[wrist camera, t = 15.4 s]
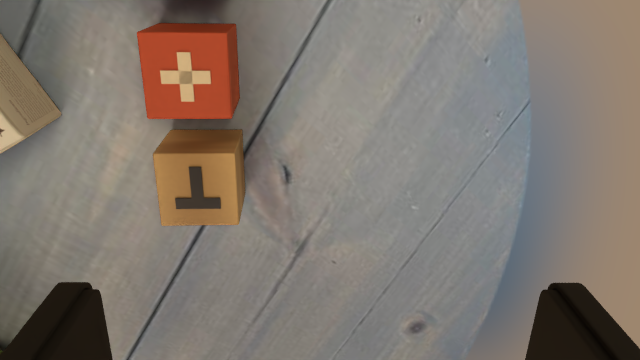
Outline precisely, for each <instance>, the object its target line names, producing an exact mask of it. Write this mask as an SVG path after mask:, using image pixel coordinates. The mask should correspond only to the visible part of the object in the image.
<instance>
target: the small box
mask: <svg viewBox="0 0 640 360" xmlns="http://www.w3.org/2000/svg"><path fill="white" fill-rule="evenodd" d="M60 116H61V112H60V111H59V109H58V108H57V107H56V106H55V104H54V103H53V102H52V100H51V99H50V97H49V96H48V95H47V93H46V92H45V91H44V90H43V88H42V87H41V86H40V84H39V83H38V82H37V81H36V79H35V78H34V77H33V75H32V74H31V73H30V72H29V70H28V69H27V68H26V67H25V65H24V64H23V63H22V61H21V60H20V59H19V57H18V56H17V55H16V53H15V52H14V51H13V50H12V48H11V47H10V46H9V44H8V43H7V42H6V40H5V39H4V38H3V36H2V35H1V34H0V154H1V153H3V152H4V151H6V150H8V149H9V148H11V147H13V146H14V145H16V144H18V143H19V142H21V141H22V140H24V139H26V138H27V137H29V136H30V135H32V134H34V133H35V132H37V131H38V130H40V129H41V128H43V127H44V126H46V125H47V124H49V123H51V122H52V121H54V120H55V119H57V118H58V117H60Z"/></svg>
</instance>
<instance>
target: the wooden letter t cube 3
mask: <svg viewBox="0 0 640 360" xmlns="http://www.w3.org/2000/svg"><path fill="white" fill-rule="evenodd" d="M153 159H154V167H155V175H156V184H157V192H158V200H159V208H160V217H161V225H162V226H172V225H238V224H239V221H240V216H241V212H242V207H243V202H244V197H245V176H244V155H243V134H242V130H170V132H169V133H168V134H167V136H166V137H165V138H164V140H163V141H162V142H161V144H160V145H159V146H158V148H157V149H156V150H155V152H154V153H153Z"/></svg>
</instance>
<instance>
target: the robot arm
mask: <svg viewBox="0 0 640 360" xmlns="http://www.w3.org/2000/svg"><path fill="white" fill-rule="evenodd" d="M0 360H112V354H111V348H110V343H109V337H108V332H107V326H106V320H105V315H104V309H103V304H102V298H101V294H100V291H99V290H97V289H92V286H91V285H90V283H88V282H61V283H58V284H57V285H56V286H55V287H54V288H53V290H52V291H51V292H50V293H49V295H48V296H47V297H46V298H45V300H44V301H43V302H42V304H41V305H40V306H39V307H38V309H37V310H36V311H35V312H34V314H33V315H32V316H31V318H30V319H29V320H28V321H27V323H26V324H25V325H24V326H23V328H22V329H21V330H20V331H19V333H18V334H17V335H16V337H15V338H14V339H13V340H12V342H11V343H10V344H9V345H8V347H7V348H6V349H5V350H4V351H3V352H2V353H1V354H0ZM525 360H640V349H639V348H638V346H637V345H636V344H635V343H634V342H633V341H632V340H631V338H630V337H629V336H628V335H627V334H626V333H625V332H624V330H623V329H622V328H621V327H620V326H619V325H618V324H617V323H616V321H615V320H614V319H613V318H612V317H611V316H610V315H609V313H608V312H607V311H606V310H605V309H604V308H603V307H602V306H601V304H600V303H599V302H598V301H597V300H596V299H595V298H594V296H593V295H592V294H591V293H590V292H589V291H588V290H587V289H586V287H584V286H583V285H582V284H580V283H552V284H550V286H549V287H548V290H543V291H542V292H541V294H540V297H539V302H538V306H537V310H536V314H535V319H534V324H533V328H532V332H531V336H530V341H529V345H528V350H527V354H526V358H525Z"/></svg>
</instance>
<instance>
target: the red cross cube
mask: <svg viewBox="0 0 640 360" xmlns="http://www.w3.org/2000/svg"><path fill="white" fill-rule="evenodd" d="M137 37H138V46H139V54H140V62H141V70H142V78H143V86H144V94H145V103H146V111H147V118H148V119H231V118H232V116H233V114H234V111H235V109H236V106H237V104H238V101H239V99H240V94H239V74H238V53H237V33H236V24H199V23H159V24H156V25H154V26H151V27H149V28H146V29H144V30H141V31H139V32H137Z"/></svg>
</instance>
